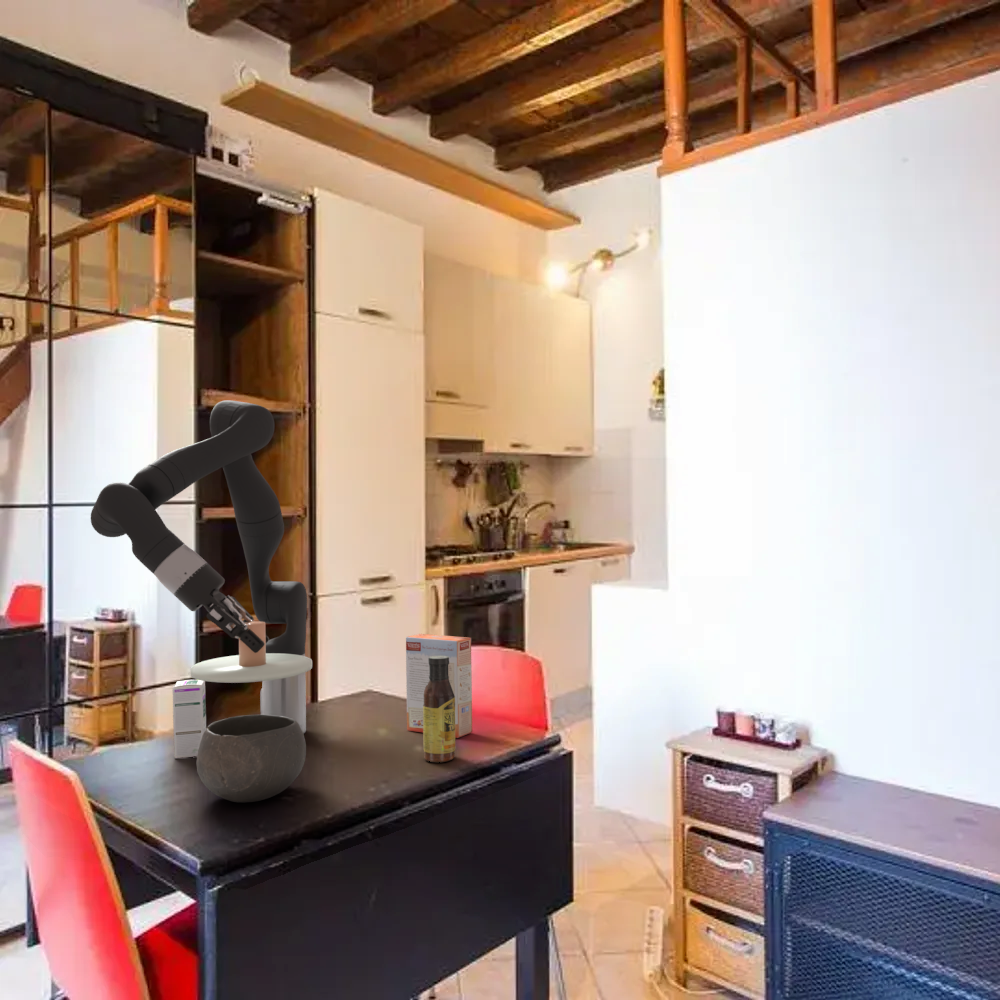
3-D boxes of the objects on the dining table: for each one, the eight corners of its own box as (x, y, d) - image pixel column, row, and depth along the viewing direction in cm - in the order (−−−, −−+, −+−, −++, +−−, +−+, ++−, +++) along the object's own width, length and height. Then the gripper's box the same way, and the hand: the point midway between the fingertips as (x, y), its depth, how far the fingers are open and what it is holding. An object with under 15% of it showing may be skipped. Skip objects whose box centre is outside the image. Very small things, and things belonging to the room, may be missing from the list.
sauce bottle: (450, 764, 160) (449, 660, 160) (419, 763, 161) (418, 659, 161) (459, 754, 166) (458, 654, 166) (429, 753, 167) (427, 653, 168)
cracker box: (473, 733, 182) (472, 636, 182) (457, 739, 177) (456, 640, 177) (422, 724, 190) (421, 632, 190) (405, 730, 184) (404, 635, 185)
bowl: (173, 808, 138) (172, 732, 138) (242, 775, 155) (242, 706, 155) (264, 821, 132) (263, 741, 132) (326, 785, 149) (325, 713, 149)
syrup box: (204, 756, 167) (203, 683, 167) (172, 759, 166) (172, 685, 166) (207, 748, 173) (206, 678, 173) (176, 751, 171) (175, 680, 171)
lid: (167, 672, 143) (167, 625, 143) (268, 654, 158) (267, 612, 158) (233, 688, 130) (233, 636, 130) (336, 667, 145) (335, 621, 145)
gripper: (195, 564, 136) (272, 637, 137) (214, 558, 150) (284, 624, 151) (161, 598, 135) (239, 670, 137) (184, 589, 149) (254, 654, 151)
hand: (262, 645), depth 144 cm, fingers closed on lid, 4 cm apart
